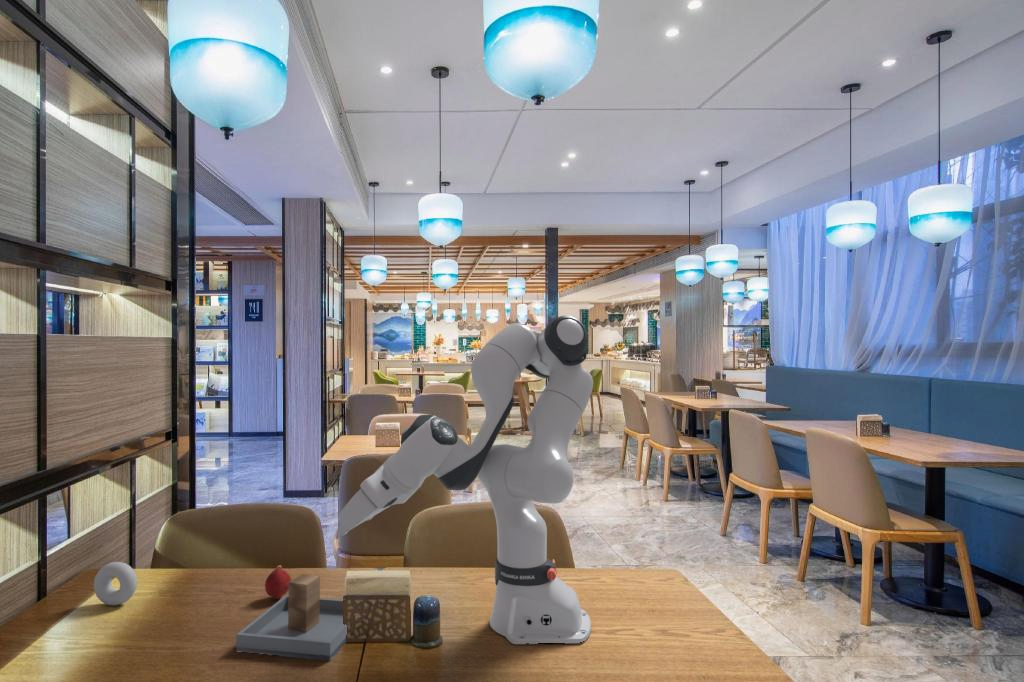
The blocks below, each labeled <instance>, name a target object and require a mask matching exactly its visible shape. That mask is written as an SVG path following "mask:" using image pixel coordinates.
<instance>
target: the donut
mask: <svg viewBox="0 0 1024 682" xmlns="http://www.w3.org/2000/svg"><path fill="white" fill-rule="evenodd" d="M113 578H116V579H117V580H118V582H119V588H118V589H116V588H114V587H113V585H112V579H113ZM137 586H138V576H137V574H136V572H135V570H134V569H133V567H131V565H129V564H127V563H125V562H121V561H113V562H109V563H107V564H105V565H104V566H102V567H101V568H100V569H99V570H98V571H97V573H96V575H95V577H94V581H93V591H94V593H95V596H96V598H97V599H98V600H99V601H100V602H101V603H103V604H105V605H108V606H112V607H113V606H120V605H122V604H125V603H127V602H128V601H129V600H130V599H132V597H133V595H134V594H135V592H136V590H137V588H138V587H137Z"/></svg>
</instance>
